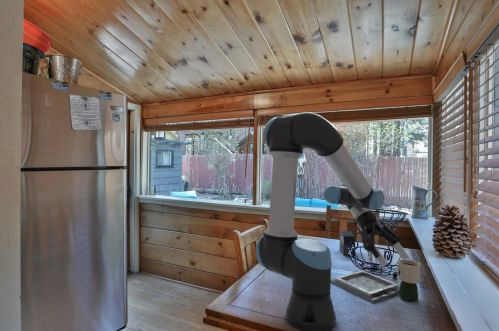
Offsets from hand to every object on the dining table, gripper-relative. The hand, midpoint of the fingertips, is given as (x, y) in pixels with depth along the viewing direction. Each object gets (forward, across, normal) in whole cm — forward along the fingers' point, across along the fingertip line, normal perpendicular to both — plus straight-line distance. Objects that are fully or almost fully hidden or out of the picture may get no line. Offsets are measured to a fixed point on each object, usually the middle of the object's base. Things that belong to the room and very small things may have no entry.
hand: (396, 262), depth 111 cm
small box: (-20, -21, -37) cm, 47 cm away
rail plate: (+2, +6, -14) cm, 15 cm away
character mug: (+12, +2, -4) cm, 13 cm away
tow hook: (-8, -15, -24) cm, 30 cm away
